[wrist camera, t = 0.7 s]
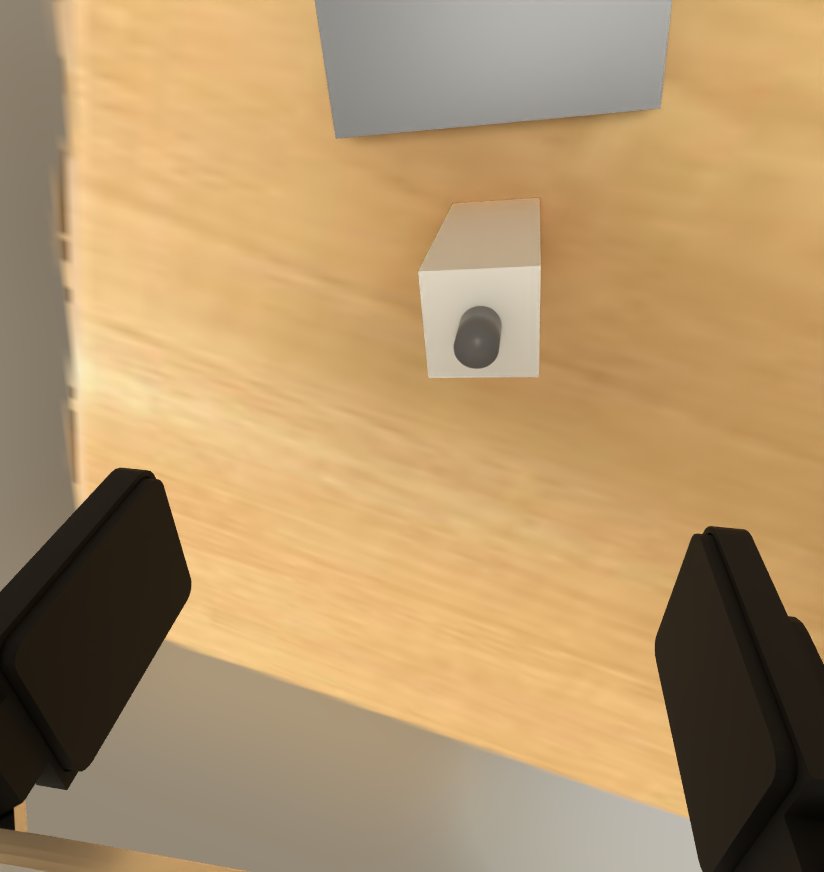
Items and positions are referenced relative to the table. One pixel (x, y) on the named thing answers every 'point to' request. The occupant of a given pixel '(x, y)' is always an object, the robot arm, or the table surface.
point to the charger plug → (483, 291)
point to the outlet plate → (488, 61)
